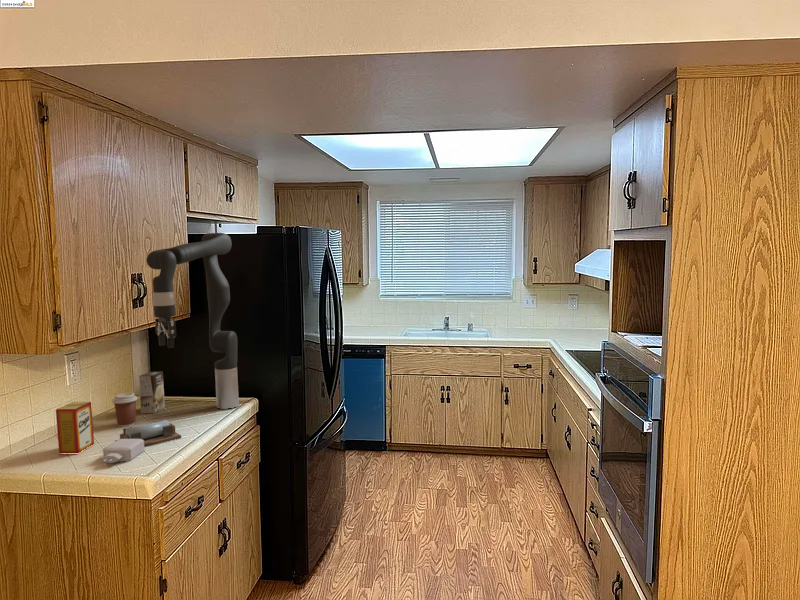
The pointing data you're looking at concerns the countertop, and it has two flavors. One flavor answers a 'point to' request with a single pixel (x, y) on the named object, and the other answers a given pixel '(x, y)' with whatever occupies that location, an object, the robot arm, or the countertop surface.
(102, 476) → the countertop surface
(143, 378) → the coffee box
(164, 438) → the walnut holder
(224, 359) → the robot arm
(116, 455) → the charger
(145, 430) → the cylinder
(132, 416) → the coffee cup
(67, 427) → the baking soda box
